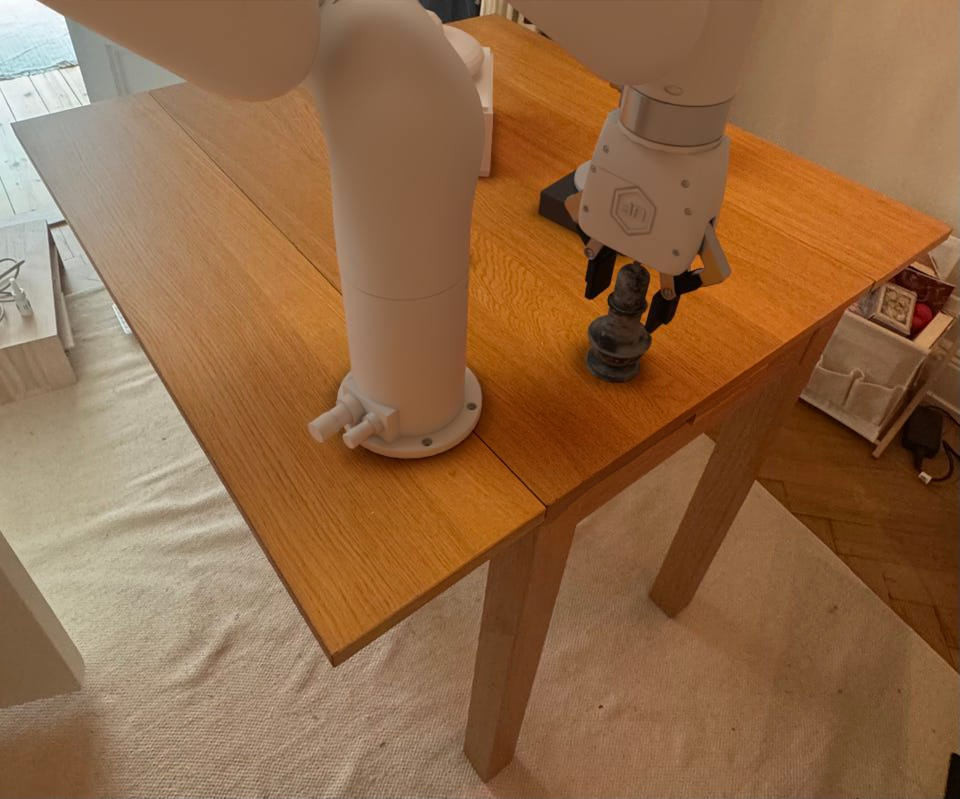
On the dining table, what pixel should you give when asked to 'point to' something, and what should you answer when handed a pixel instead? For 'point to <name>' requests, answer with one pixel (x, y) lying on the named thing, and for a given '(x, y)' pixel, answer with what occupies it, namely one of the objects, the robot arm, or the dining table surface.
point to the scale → (563, 197)
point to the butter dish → (475, 77)
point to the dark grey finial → (621, 328)
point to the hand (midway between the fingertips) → (626, 306)
